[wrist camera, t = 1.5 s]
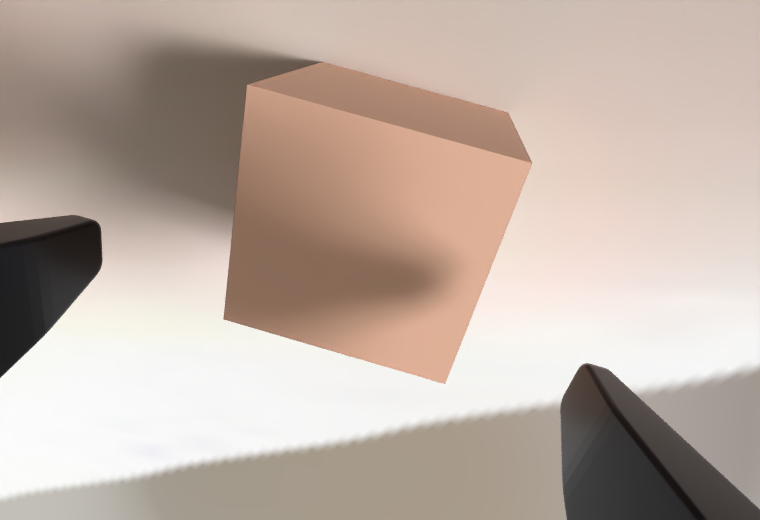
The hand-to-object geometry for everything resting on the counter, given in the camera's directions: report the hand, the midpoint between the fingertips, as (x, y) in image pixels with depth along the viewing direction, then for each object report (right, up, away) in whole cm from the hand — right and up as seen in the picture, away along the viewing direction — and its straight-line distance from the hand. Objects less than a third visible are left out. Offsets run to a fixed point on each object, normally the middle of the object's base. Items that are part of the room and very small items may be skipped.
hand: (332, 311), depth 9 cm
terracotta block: (+1, +4, +8) cm, 9 cm away
